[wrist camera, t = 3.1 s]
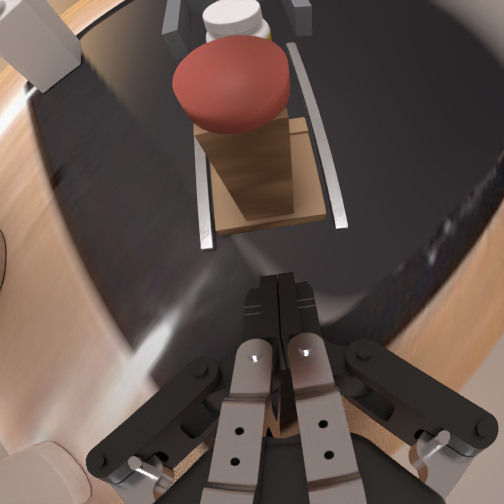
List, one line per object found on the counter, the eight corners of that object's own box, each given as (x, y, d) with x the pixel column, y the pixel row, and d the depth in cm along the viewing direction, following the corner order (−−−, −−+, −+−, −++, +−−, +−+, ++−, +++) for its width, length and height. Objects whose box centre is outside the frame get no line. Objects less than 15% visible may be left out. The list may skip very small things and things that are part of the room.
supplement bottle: (259, 58, 23) (244, -12, 15) (288, 85, 22) (280, 8, 14) (214, 80, 23) (186, 12, 15) (239, 109, 22) (215, 34, 14)
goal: (175, 60, 25) (161, 34, 21) (179, 13, 27) (169, -8, 23) (312, 35, 23) (311, 6, 19) (289, -8, 25) (287, -31, 21)
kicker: (221, 235, 20) (119, 141, 8) (213, 146, 21) (143, 18, 9) (324, 220, 19) (359, 94, 7) (304, 130, 21) (300, -15, 8)
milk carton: (47, 70, 30) (-19, 5, 11) (82, 43, 29) (20, -31, 11) (43, 94, 28) (-35, 24, 10) (81, 64, 28) (7, -20, 9)
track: (204, 251, 20) (201, 249, 20) (195, 66, 24) (193, 61, 23) (346, 230, 19) (348, 227, 18) (294, 48, 23) (294, 42, 22)
